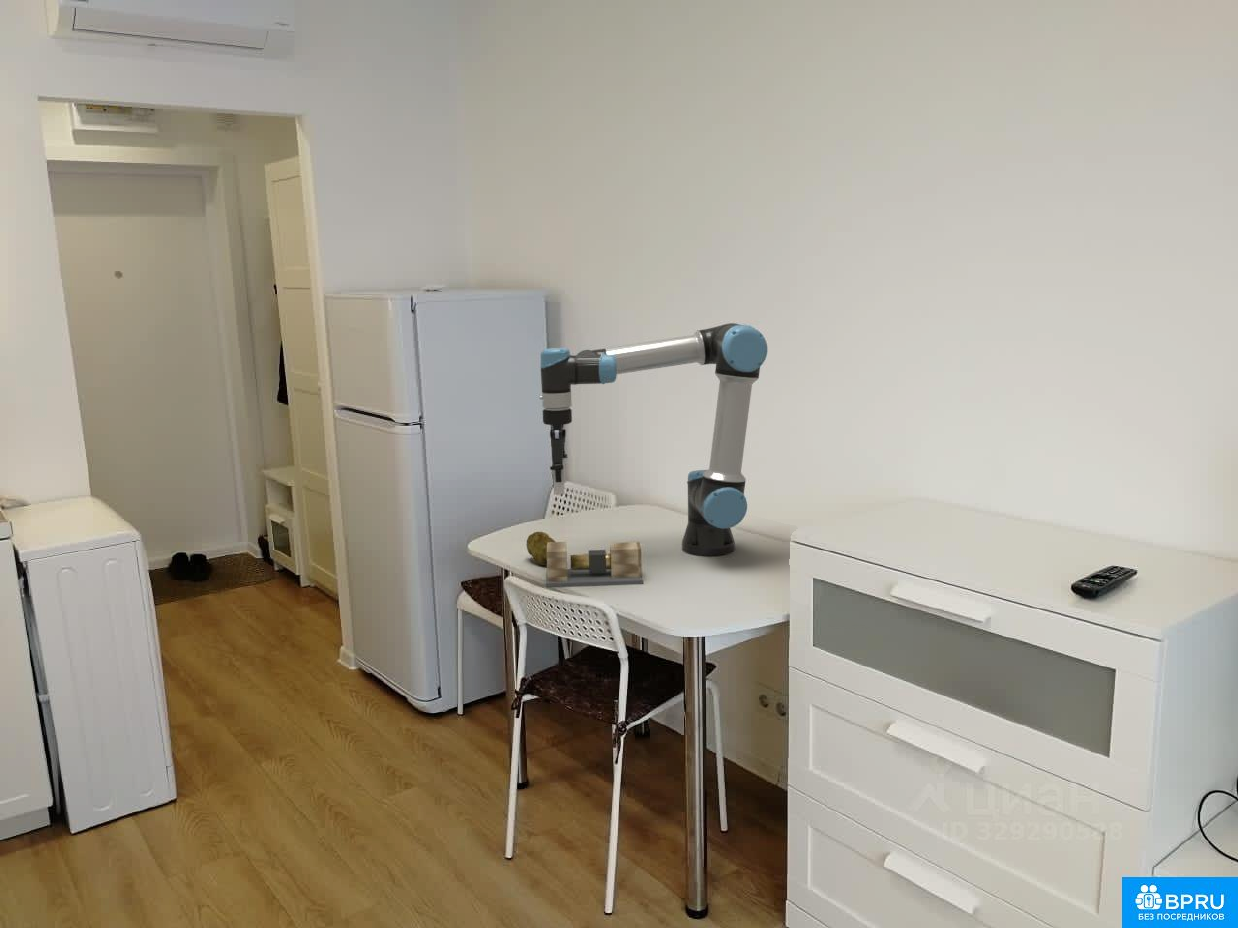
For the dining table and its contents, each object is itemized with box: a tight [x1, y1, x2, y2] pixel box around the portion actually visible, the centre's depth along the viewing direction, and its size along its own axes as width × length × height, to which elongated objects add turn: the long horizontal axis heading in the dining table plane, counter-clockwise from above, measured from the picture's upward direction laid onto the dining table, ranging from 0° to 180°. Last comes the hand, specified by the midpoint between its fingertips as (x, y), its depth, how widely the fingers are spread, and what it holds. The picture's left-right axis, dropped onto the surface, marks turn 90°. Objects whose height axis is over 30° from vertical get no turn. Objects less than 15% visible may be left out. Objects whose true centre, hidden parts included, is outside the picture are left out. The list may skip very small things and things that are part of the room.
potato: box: [526, 531, 556, 567], centre depth 270 cm, size 8×13×8 cm, turn 16°
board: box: [545, 568, 644, 588], centre depth 255 cm, size 25×12×1 cm, turn 93°
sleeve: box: [609, 541, 643, 578], centre depth 255 cm, size 8×7×8 cm
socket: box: [546, 541, 568, 582], centre depth 254 cm, size 5×9×8 cm, turn 3°
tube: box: [570, 549, 611, 574], centre depth 255 cm, size 17×4×5 cm, turn 93°
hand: (560, 488), depth 257 cm, fingers open, 13 cm apart
